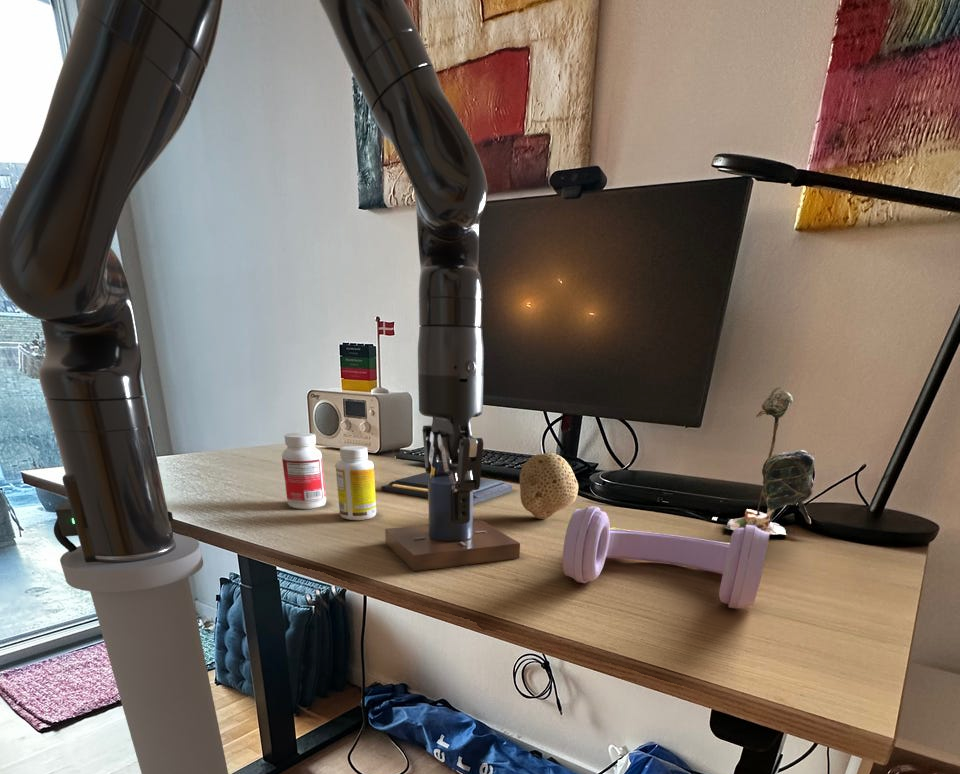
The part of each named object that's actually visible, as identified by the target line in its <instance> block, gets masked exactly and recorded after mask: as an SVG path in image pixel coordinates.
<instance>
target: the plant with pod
mask: <svg viewBox="0 0 960 774" xmlns="http://www.w3.org/2000/svg"><path fill="white" fill-rule="evenodd" d="M793 401H794V397H793V395H792V394H790V392H788V391H786V390H785V389H783V388H782V387H780V386H777V387H774V388H773V389H772V390H771V392H770V393H769V394H768V396H767V397H766V398H765V399H764V401H763V402H762V404H761V410H760V411H759V412H758V413H757V414H756V418H758V419H759V418H761V417H762V415H766V416H772V417H773V418H774V421H773V422H774V423H773V431H772V434H773V435H772V439H771V445H770V449H769V453H768V457H767V459H766V460H765V461H764V463H763V466H762V469H761V475H762V477H763V478H762V487H761V492H760V496H759V501H758V506H757V510H754V509H748V508H747V509H746V510H745V511H744V516H743V517H742V516H741V517H739V518H728V521H727V523H726V524H727V525H726V526H725V527H724V528H725V529H727V530H732V531H735V530H736V529H738V528H746V525H752V526H756V527H757V528H758V529H760V530H762V531H764V532H767V533H769V536H776V535H779V536H787V533H786V531H787V530H786V529H785V527H783V526H782V525H781V524H779V523H777V522H772V519H773V516H774V514H775V512H776V510H778V509H781V508H784V507H786V506H788V505H790V506H795V505H796V504H797V505H798V508H799V510H800V512H801V515H802V516H803V517H804V520H805V521H806V523H807V524H808V525H811V524H812V519H811V518H810V516H809V513H808V511H807V508H806V506H805V504H804V502H805V501H807V500H809V499H810V498H811V496H812V495H813V487H814V480H813V474H814V471H815V458H814V455H815V453H810V452H808V451H806V450H803V449H799V450H797V449H796V450H791V451H785V452H780V453H778V454H773V452H774V448H775V444H776V436H777V431H778V427H779V422H780V419H781V418H782V417H784V416H785V415H786V413H787V412H788V410H789V408H790V406H791V405H792V404H793ZM763 499H764V501H765V503H766V508H767V510H766V513H764V512H761V511H759V510H760V507H761V505H762V501H763Z"/></svg>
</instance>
